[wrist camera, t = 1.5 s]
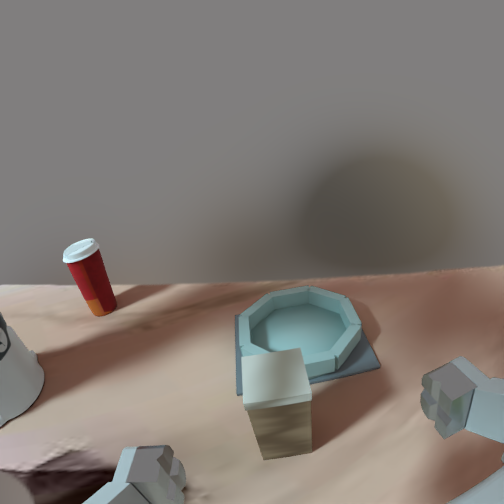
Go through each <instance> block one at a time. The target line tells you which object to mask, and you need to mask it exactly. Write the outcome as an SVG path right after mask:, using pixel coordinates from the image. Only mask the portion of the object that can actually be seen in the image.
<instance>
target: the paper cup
mask: <svg viewBox="0 0 504 504" xmlns="http://www.w3.org/2000/svg"><path fill="white" fill-rule="evenodd" d="M63 257H64V258H63V262H66V263H67V265H68V267H69V269H70V271H71V273H72V276H73V278H74V280H75V281H76V283H77V285H78V287H79V289H80V291H81V293H82V295H83V297H84V299H85V300H86V302H87V304H88V306H89V308H90V309H91V311H92V313H93V314H94V315H95V316H104V315H107V314H109V313H111V312H112V311H113V310H114V309H115V308H116V306H117V303H116V299H115V297H114V294H113V291H112V288H111V285H110V282H109V279H108V276H107V273H106V270H105V267H104V263H103V260H102V257H101V254H100V251H99V244H98V243H96V241H95V240H94V239H91V238H90V239H84V240H81V241H79V242H76V243H74V244H72V245H71V246H69V247H68V248H67V249H66V250H65V251H64V254H63Z"/></svg>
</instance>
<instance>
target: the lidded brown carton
mask: <svg viewBox="0 0 504 504" xmlns="http://www.w3.org/2000/svg"><path fill="white" fill-rule="evenodd" d="M241 363H242V386H243V404H244V407H245V411H247V412H248V415H249V418H250V421H251V424H252V427H253V430H254V433H255V436H256V439H257V442H258V445H259V448H260V451H261V454H262V457H263V460H269V459H276V458H283V457H290V456H296V455H301V454H307V453H312V427H311V400H312V392H311V388H310V384H309V380H308V376H307V372H306V368H305V364H304V360H303V356H302V352H301V348H294V349H289V350H283V351H277V352H271V353H265V354H258V355H251V356H244V357H241Z"/></svg>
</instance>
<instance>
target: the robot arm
mask: <svg viewBox="0 0 504 504" xmlns="http://www.w3.org/2000/svg"><path fill="white" fill-rule="evenodd" d="M43 383H44V371H43V369H42V367H41V366H40V365H39V364H38V362H37V355H36V353H35V352H34V351H29V350H28V349H27V347H26V346H25V345H24V343H23V342H22V341H21V339H20V338H19V337H18V335H17V334H16V333H15V331H14V330H13V328H12V327H10V326H7V325H6V322H5V320H4V319H3V316H2V314H1V312H0V427H1V426H2V425H3V424H4V423H5V422H6V421H8V420H10V419H12V418H14V417H16V416H18V415H20V414H21V413H23V412H24V411H25V410H27V409H28V408H29V407H30V406H31V405H32V404H33V402H34V401H35V400H36V398H37V397H38V395H39V393H40V391H41V389H42V386H43ZM422 386H423V387H424V390H423V392H422V393H421V400H420V402H421V406H422V410H423V412H424V414H425V415H426V417H427V418H428V419H430V420H434V421H435V429H436V430H437V431H438V432H439V434H440V435H441V436H442V438H443V439H446V438H448V437H449V436H451V435H453V434H455V433H457V432H459V431H460V430H462V429H464V428H465V429H466V430H468V431H471V432H473V433H476V434H479V435H481V436H484V437H487V438H489V439H492V440H495V441H498V442H500V443H503V444H504V379H501V378H495V377H493V378H491V379H489V378H488V377H487V376H486V375H485V374H483V373H482V372H481V371H480V370H479V369H478V368H476V367H475V366H474V365H473V364H472V363H471V362H469V361H468V360H467V359H466V358H465V357H462V356H459V357H458V358H456V359H454V360H452V361H450V362H449V363H446V364H444V365H443V366H441V367H439V368H437V369H435V370H433V371H431V372H429V373H427V374H424V375H423V378H422ZM173 455H174V451H173V450H172V448H171V447H170V446H169V445H159V446H139V447H125V448H124V449H123V451H122V454H121V457H120V460H119V463H118V466H117V469H116V472H115V475H114V478H113V481H112V482H108V483H107V484H106V485H105V486H103V487H102V488H101V489H100V490H99V491H97V492H96V493H95V494H94V495H93V496H91V497H90V498H89V499H88V500H86V501H85V502H84V503H83V504H184V496H185V495H184V494H183V493H182V492H181V490H182V488H183V487H184V486H185V485H186V474H185V469H184V467H183V464H182V463H181V461H180V460H178V459H176V458H175V457H173ZM501 461H502V462H503V463H504V453H503V455H502V458H501ZM446 504H504V466H503V467H501V468H500V469H499V470H497V471H496V472H495V473H493V474H492V475H490V476H489V477H487V478H486V479H485V480H483V481H482V482H480V483H479V484H477V485H476V486H474V487H472V488H471V489H469V490H468V491H466V492H465V493H463V494H461V495H460V496H458V497H456V498H455V499H453V500H451V501H449V502H448V503H446Z"/></svg>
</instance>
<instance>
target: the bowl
mask: <svg viewBox="0 0 504 504" xmlns="http://www.w3.org/2000/svg"><path fill="white" fill-rule="evenodd" d="M361 326H362V323H361V321H360V319H359V317H358V315H357V313H356V311H355V310H354V308H353V306H352V304H351V302H350V300H349V298H346V296H345V295H341V294H338V293H335V292H331V291H328V290H324V289H321V288H318V287H314V286H310V287H309V286H302V287H297V288H291V289H285V290H279V291H273V292H270V294H265V295H264V296H263V297H262V298H260V299H259V300H258V301H257V302H255V303H254V304H253V305H251V306H250V307H249V308H248V309H246V310H245V311H244V312H243V313H241V314H240V317H239V346H240V350H241V354H242V357H244V356H251V355H258V354H265V353H271V352H277V351H283V350H289V349H294V348H301V352H302V356H303V360H304V364H305V368H306V372H307V376H308V380H311V379H315V378H319V377H322V376H324V375H326V374H328V373H330V372H334V371H335V369H339V368H340V366H341V365H342V364H343V363H344V362H345V361H346V360H347V358H348V357H349V355H350V354H351V352H352V350H353V349H354V348H355V346H356V345H357V343H358V342H359V341H360V338H361Z"/></svg>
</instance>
